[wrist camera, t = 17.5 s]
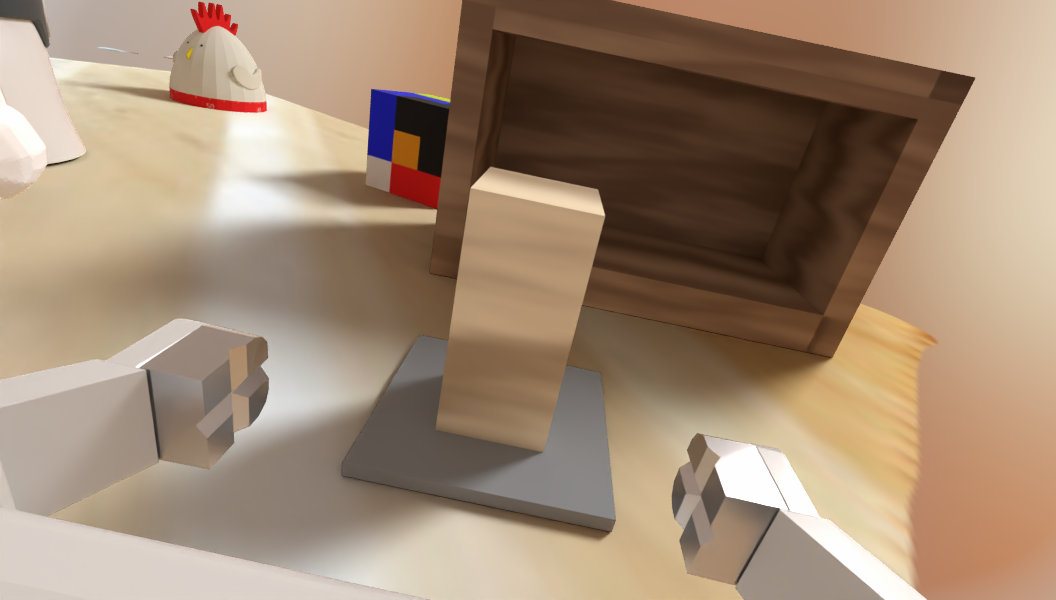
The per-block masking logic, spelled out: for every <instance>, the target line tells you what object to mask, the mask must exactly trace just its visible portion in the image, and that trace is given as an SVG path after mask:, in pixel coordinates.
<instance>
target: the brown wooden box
mask: <svg viewBox="0 0 1056 600" xmlns="http://www.w3.org/2000/svg"><path fill="white" fill-rule="evenodd" d="M974 80H975V78H974V77H970V76H965V75H960V74H956V73H951V72H946V71H942V70H936V69H932V68H927V67H922V66H918V65H913V64H908V63H904V62H899V61H894V60H890V59H885V58H880V57H876V56H871V55H866V54H861V53H857V52H852V51H847V50H843V49H838V48H833V47H829V46H824V45H819V44H814V43H809V42H804V41H800V40H796V39H791V38H786V37H782V36H777V35H772V34H767V33H763V32H758V31H753V30H749V29H744V28H739V27H734V26H730V25H725V24H720V23H716V22H711V21H706V20H702V19H697V18H692V17H687V16H683V15H678V14H673V13H668V12H664V11H659V10H654V9H650V8H645V7H640V6H636V5H631V4H626V3H621V2H616V1H612V0H462V9H461V17H460V25H459V33H458V42H457V50H456V59H455V66H454V75H453V83H452V91H451V100H450V108H449V116H448V125H447V133H446V141H445V149H444V158H443V166H442V174H441V183H440V191H439V199H438V208H437V216H436V224H435V232H434V241H433V249H432V257H431V266H430V273H433V274H438V275H442V276H447V277H452V278H457V277H458V271H459V264H460V257H461V250H462V243H463V236H464V229H465V222H466V216H467V209H468V202H469V195H470V188H471V187H472V186H473V185H474V184H475V183H476V182H477V181H478V180H479V178H480V177H481V176H482V175H483V174H484V173H485V172H486V171H487V170H488V169H489V168H490V167H493V168H498V169H503V170H508V171H512V172H517V173H522V174H527V175H531V176H536V177H541V178H546V179H550V180H555V181H560V182H565V183H569V184H574V185H579V186H584V187H588V188H593V189H598V191H599V195H600V199H601V202H602V206H603V210H604V214H605V219H604V223H603V226H602V230H601V234H600V238H599V242H598V246H597V249H596V253H595V257H594V261H593V265H592V268H591V272H590V276H589V280H588V284H587V288H586V291H585V295H584V299H583V303H582V305H585V306H590V307H594V308H599V309H604V310H609V311H614V312H618V313H623V314H628V315H633V316H637V317H642V318H647V319H652V320H656V321H661V322H666V323H671V324H675V325H680V326H685V327H690V328H694V329H699V330H704V331H709V332H713V333H718V334H723V335H728V336H732V337H737V338H742V339H747V340H751V341H756V342H761V343H766V344H771V345H775V346H780V347H785V348H790V349H794V350H799V351H804V352H809V353H813V354H818V355H823V356H828V357H833V355H834V353H835V351H836V350H837V348H838V346H839V344H840V342H841V340H842V338H843V336H844V334H845V332H846V330H847V328H848V326H849V324H850V322H851V320H852V318H853V316H854V314H855V312H856V310H857V308H858V307H859V305H860V303H861V301H862V299H863V297H864V295H865V293H866V291H867V289H868V287H869V285H870V283H871V281H872V279H873V277H874V275H875V273H876V271H877V269H878V267H879V265H880V264H881V262H882V260H883V258H884V256H885V254H886V252H887V250H888V248H889V246H890V244H891V242H892V240H893V238H894V236H895V234H896V232H897V230H898V228H899V226H900V224H901V222H902V220H903V219H904V217H905V215H906V213H907V211H908V209H909V207H910V205H911V203H912V201H913V199H914V197H915V195H916V193H917V191H918V189H919V187H920V185H921V183H922V181H923V179H924V177H925V176H926V174H927V172H928V170H929V168H930V166H931V164H932V162H933V160H934V158H935V156H936V154H937V152H938V150H939V148H940V146H941V144H942V142H943V140H944V138H945V136H946V135H947V133H948V130H949V128H950V127H951V125H952V123H953V121H954V119H955V117H956V115H957V112H958V111H959V109H960V107H961V105H962V103H963V101H964V99H965V97H966V95H967V94H968V92H969V90H970V88H971V86H972V84H973V82H974Z"/></svg>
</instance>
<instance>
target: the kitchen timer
mask: <svg viewBox="0 0 1056 600" xmlns="http://www.w3.org/2000/svg"><path fill="white" fill-rule="evenodd" d="M198 11H199V14H198V12H197V11H196V10H194V9H191V13H192V16H193V19H194V21H195V23H196V26H197V28H198V30H196V31H194V32H193V33H192V34H190V35H189V36H188V37H187V38H186V40H185V41H184V42H183V44H182V45H181V47H180V48H179V50H178V51H176V52H175V53H174V55H173V62H174V64H173V68H172V71H171V76H170V98H171V99H173V100H175V101H178V102H181V103H185V104H189V105H193V106H198V107H204V108H210V109H217V110H225V111H235V112H265V111H267V108H266V94H265V89H264V86H263V83H262V80H261V70H260V69H259V68H257V66H256V64H255V62H254V60H253V58H252V56H251V55H250V53H249V52H248V50H247V49H246V47H245V46H244V45H243V44H242V43H241V42H240V41H239V39H238V38H236V37H235V35H236V32H237V28H238V24H235V23H233V24H232V25H231V28H230V20H231V15H228V14H225V15H224V13H223V7H222V5H218V4H217V5H216V11H215V5H214V4H213V3H209V5H208V12H207V10H206V7H205V4H204V3H202V2H198Z"/></svg>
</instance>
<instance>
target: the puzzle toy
mask: <svg viewBox="0 0 1056 600" xmlns="http://www.w3.org/2000/svg"><path fill="white" fill-rule="evenodd" d="M449 108H450V99H445V98H442V97H437V96H433V95H428V94H418V93H407V92H397V91H387V90H376V89H371V105H370V121H369V137H368V154H367V170H366V185H368V186H371V187H374V188H377V189H380V190H383V191H386V192H389V193H392V194H395V195H398V196H401V197H404V198H407V199H410V200H413V201H415V202H418V203H421V204H424V205H427V206H430V207H433V208H436V209H437V208H438V199H439V191H440V183H441V174H442V166H443V158H444V149H445V141H446V133H447V125H448V116H449Z"/></svg>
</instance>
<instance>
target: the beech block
mask: <svg viewBox="0 0 1056 600" xmlns="http://www.w3.org/2000/svg"><path fill="white" fill-rule="evenodd" d="M604 219H605V214H604V210H603V206H602V202H601V199H600V195H599V191H598V189H593V188H588V187H584V186H579V185H574V184H569V183H565V182H560V181H555V180H550V179H546V178H541V177H536V176H531V175H527V174H522V173H517V172H512V171H508V170H503V169H498V168H493V167H490V168H489V169H488V170H487V171H486V172H485V173H484V174H483V175H482V176H481V177H480V178H479V180H478V181H477V182H476V183H475V184H474V185H473V186H472V187H471V188H470V195H469V202H468V209H467V216H466V222H465V229H464V236H463V243H462V250H461V257H460V264H459V271H458V277H457V284H456V291H455V298H454V305H453V312H452V319H451V326H450V332H449V339H448V346H447V353H446V360H445V367H444V374H443V380H442V387H441V394H440V401H439V408H438V415H437V422H436V429H435V430H438V431H443V432H448V433H453V434H458V435H463V436H467V437H472V438H477V439H482V440H487V441H492V442H496V443H501V444H506V445H511V446H516V447H521V448H525V449H530V450H535V451H540V452H544V448H545V444H546V441H547V437H548V433H549V429H550V425H551V421H552V418H553V414H554V410H555V406H556V402H557V399H558V395H559V391H560V387H561V383H562V379H563V376H564V372H565V368H566V364H567V360H568V356H569V353H570V349H571V345H572V341H573V337H574V334H575V330H576V326H577V322H578V318H579V314H580V311H581V307H582V303H583V299H584V295H585V291H586V288H587V284H588V280H589V276H590V272H591V268H592V265H593V261H594V257H595V253H596V249H597V246H598V242H599V238H600V234H601V230H602V226H603V223H604Z"/></svg>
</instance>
